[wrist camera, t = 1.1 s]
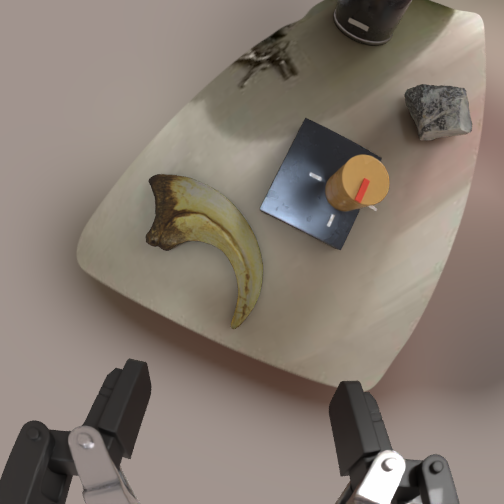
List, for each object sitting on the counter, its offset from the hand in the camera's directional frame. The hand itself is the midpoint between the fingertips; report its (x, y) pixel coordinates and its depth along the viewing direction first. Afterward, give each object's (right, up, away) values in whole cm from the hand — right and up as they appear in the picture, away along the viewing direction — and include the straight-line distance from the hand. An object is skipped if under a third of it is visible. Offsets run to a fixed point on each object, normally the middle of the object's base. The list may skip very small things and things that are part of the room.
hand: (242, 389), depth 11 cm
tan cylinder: (+11, +12, +19) cm, 25 cm away
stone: (+25, +23, +20) cm, 39 cm away
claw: (-5, +6, +24) cm, 25 cm away
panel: (+8, +13, +22) cm, 27 cm away
